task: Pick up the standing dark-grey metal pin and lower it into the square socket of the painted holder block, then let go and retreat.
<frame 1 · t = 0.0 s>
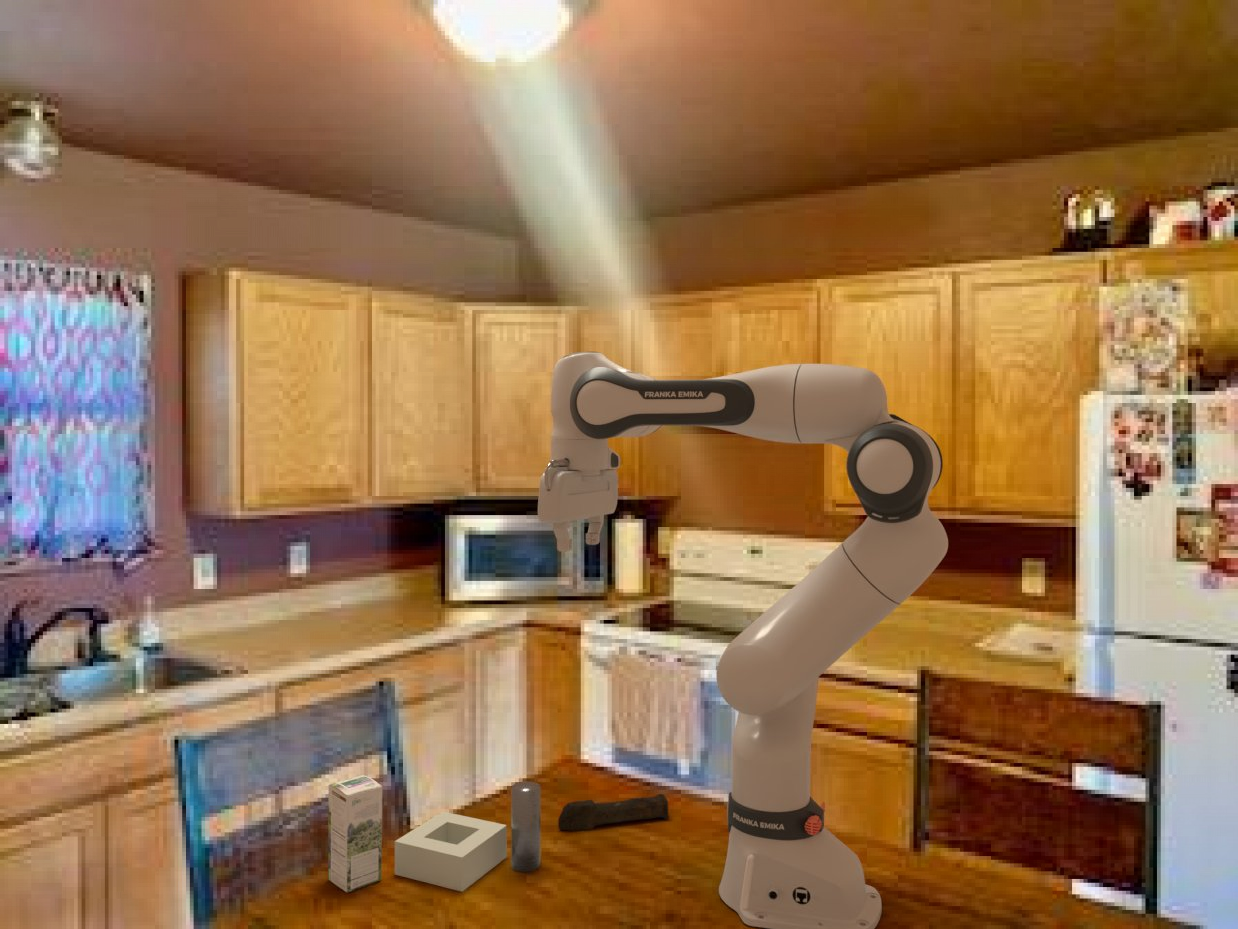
hand: (579, 547, 143), 48 cm above the table, fingers open, 8 cm apart
syrup box: (355, 882, 135), on the table
hand tool: (614, 827, 155), on the table
pin: (525, 865, 140), on the table
holder: (451, 865, 140), on the table
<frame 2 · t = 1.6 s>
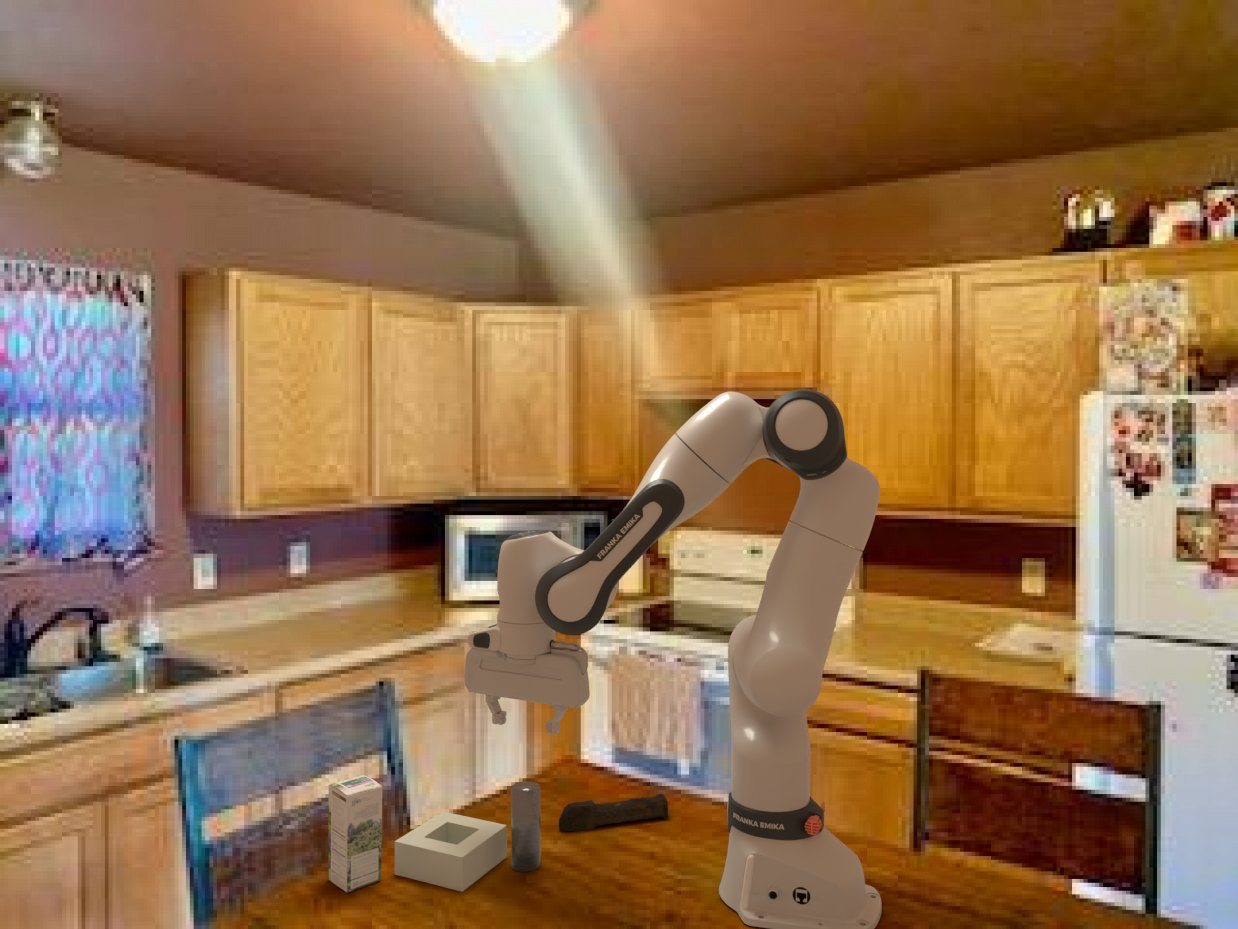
hand: (525, 728, 140), 21 cm above the table, fingers open, 8 cm apart
nothing on the table moved.
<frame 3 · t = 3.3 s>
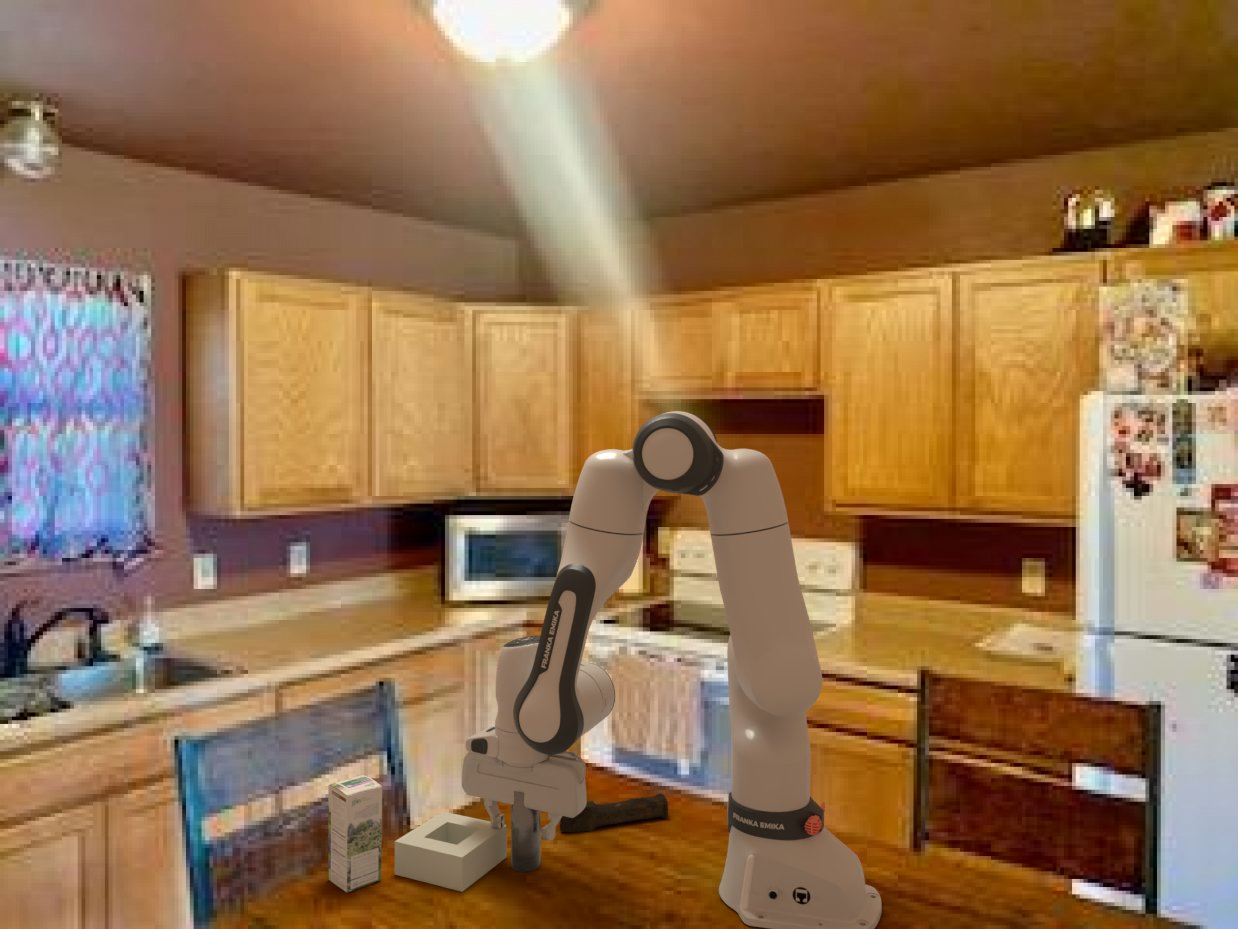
hand: (522, 833, 140), 5 cm above the table, fingers open, 7 cm apart
nothing on the table moved.
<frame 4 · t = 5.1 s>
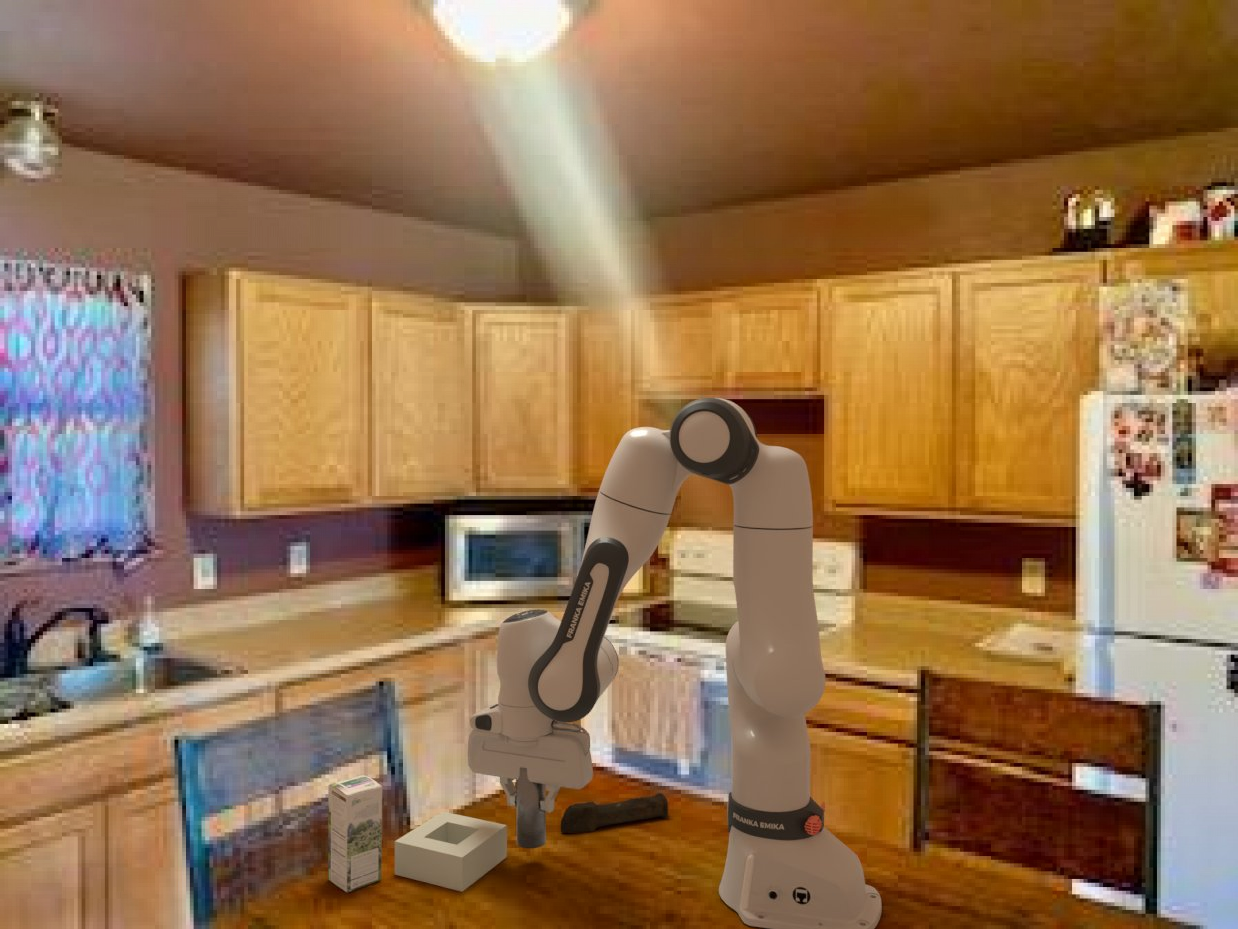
hand: (530, 808, 140), 9 cm above the table, fingers closed on pin, 4 cm apart
pin: (531, 842, 140), point 4 cm above the table, touching gripper
everything else where it was.
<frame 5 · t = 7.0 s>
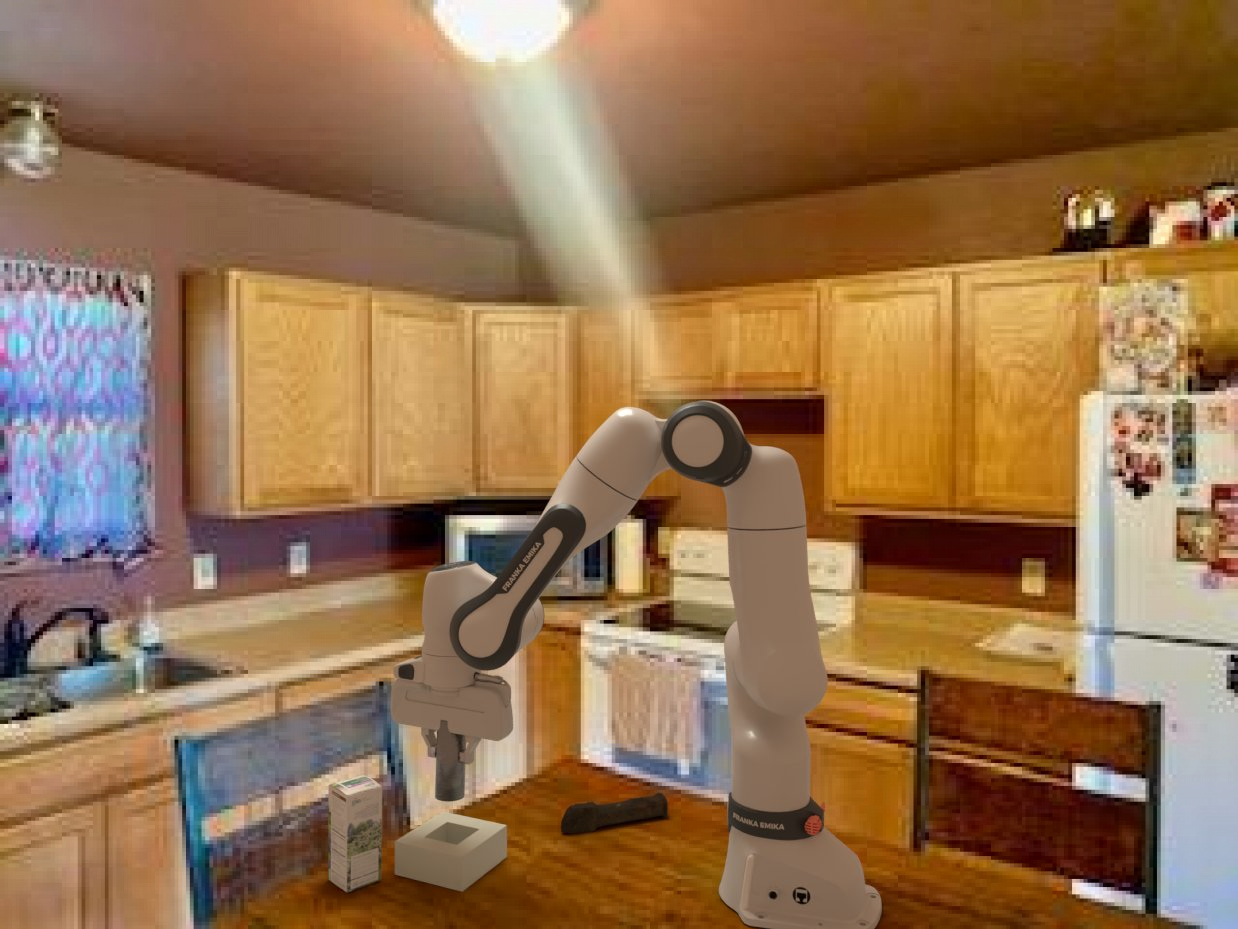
hand: (450, 759, 139), 16 cm above the table, fingers closed on pin, 4 cm apart
pin: (449, 796, 140), point 11 cm above the table, touching gripper
everything else where it was.
when the fingers open (7 cm above the table, at t = 9.3 s): pin drops 1 cm, resting in holder.
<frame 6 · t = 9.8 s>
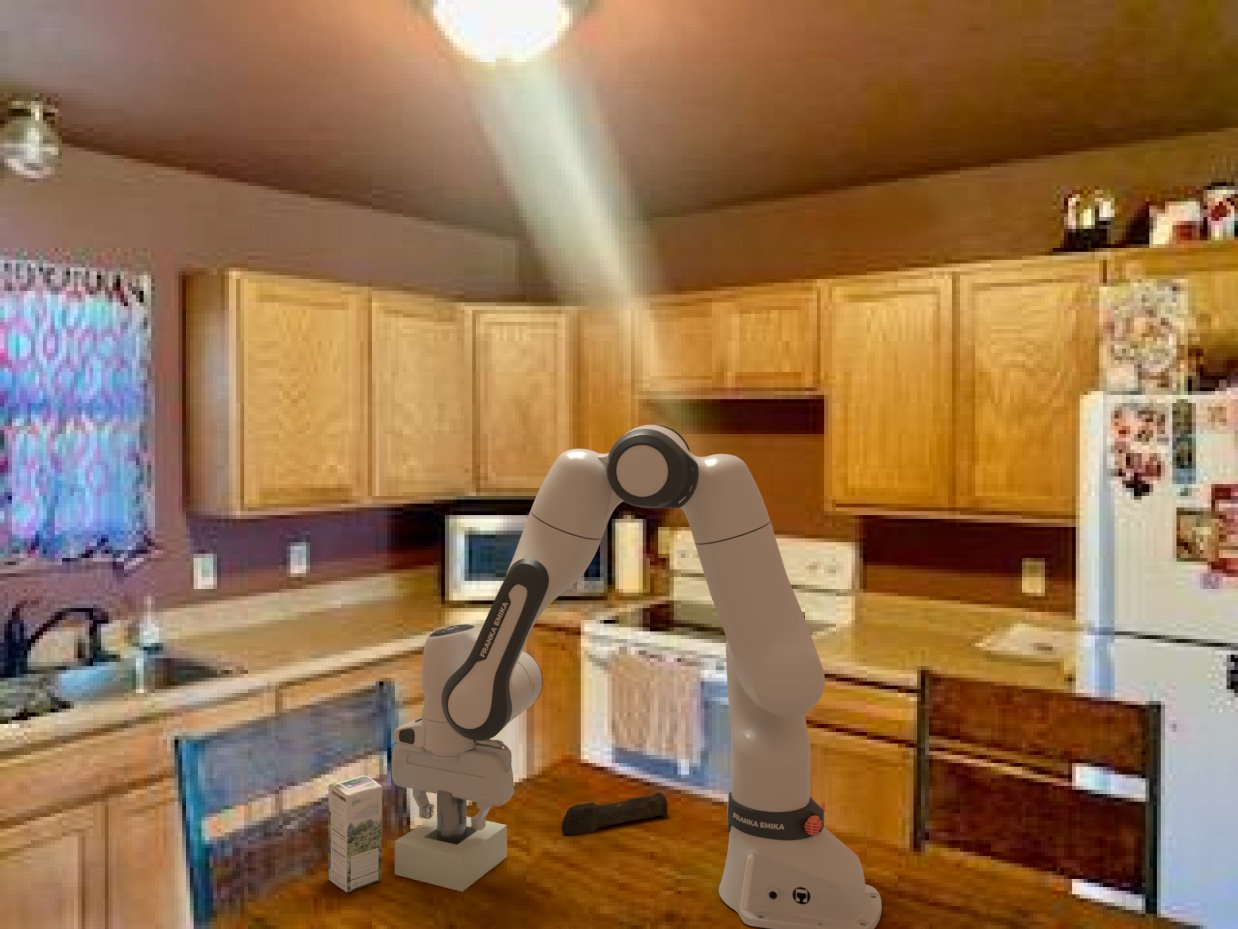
hand: (452, 822, 140), 7 cm above the table, fingers open, 8 cm apart
pin: (452, 866, 140), resting in holder
everything else where it was.
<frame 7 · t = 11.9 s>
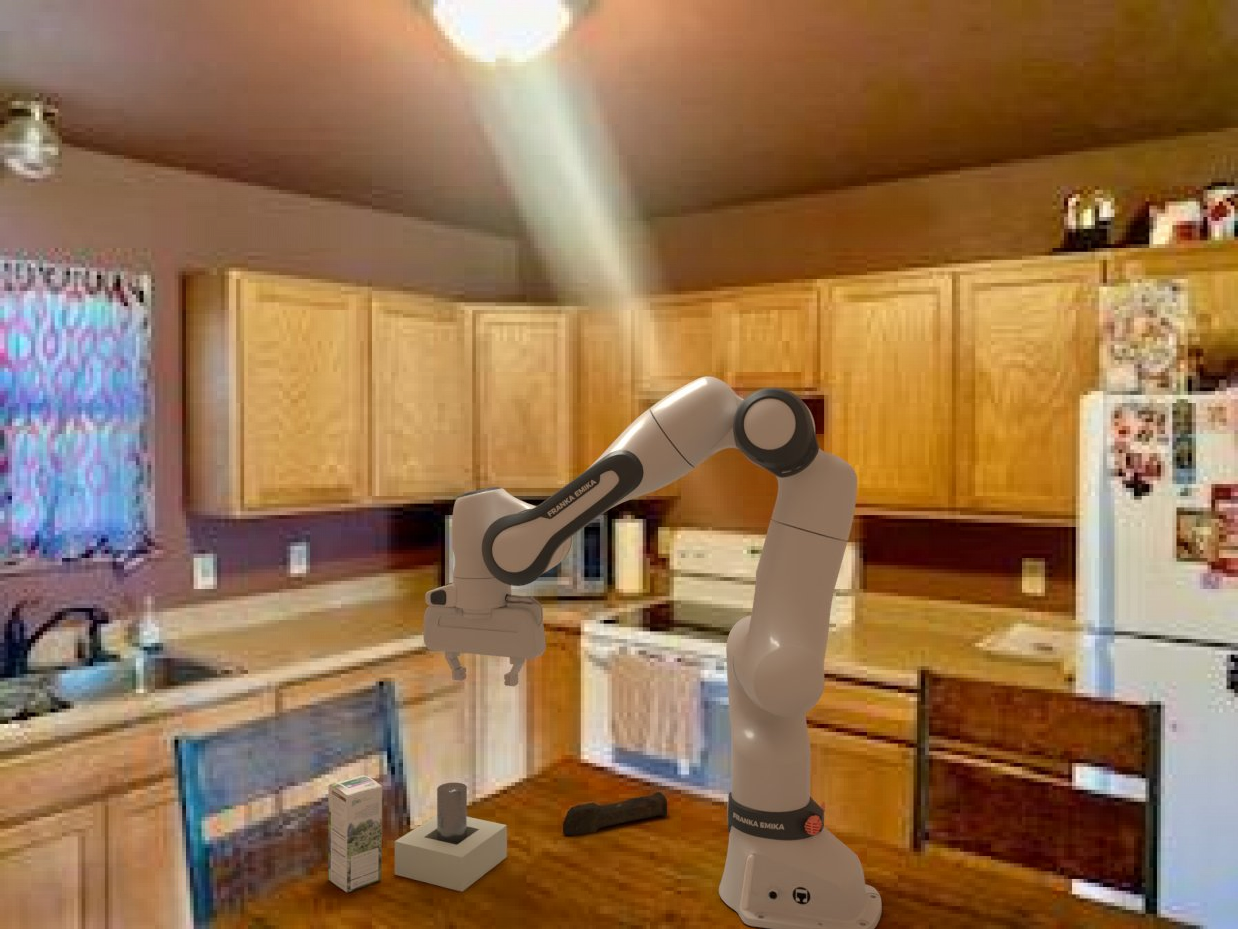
hand: (485, 682, 142), 27 cm above the table, fingers open, 8 cm apart
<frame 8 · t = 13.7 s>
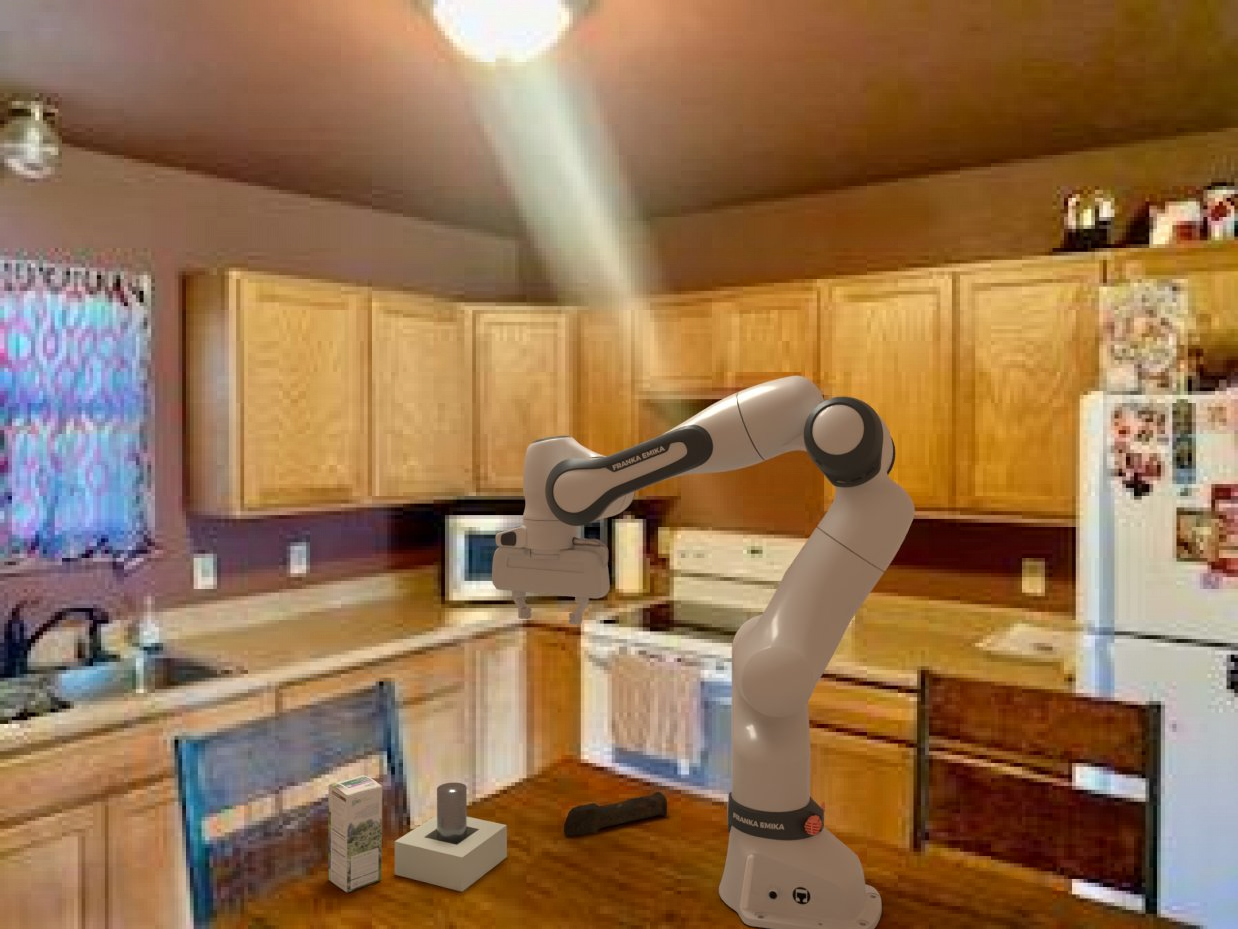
hand: (549, 621, 150), 35 cm above the table, fingers open, 8 cm apart
at the end: pin 0.1 cm off-centre on the holder, point 0.0 cm above the holder's base; pin tilted 0°; the gripper is holding nothing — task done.
